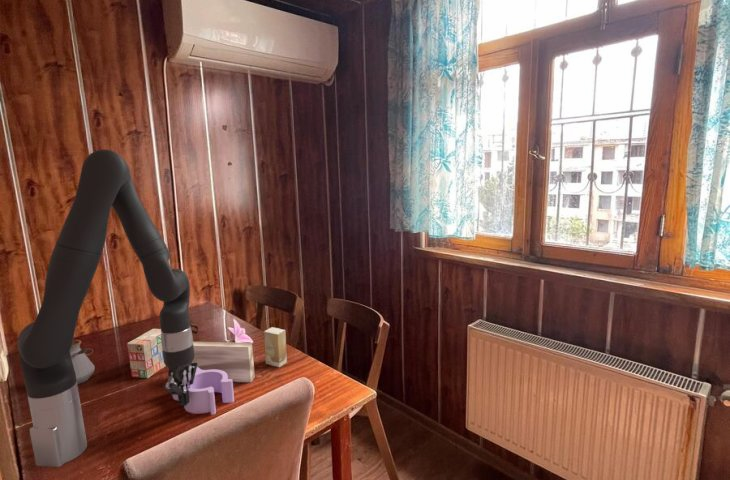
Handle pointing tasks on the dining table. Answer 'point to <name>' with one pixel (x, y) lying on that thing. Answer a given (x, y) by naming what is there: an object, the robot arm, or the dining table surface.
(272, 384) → the dining table surface
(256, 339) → the dining table surface
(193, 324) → the pottery mug
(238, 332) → the lily
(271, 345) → the skincare box
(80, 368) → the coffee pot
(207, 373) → the clip
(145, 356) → the stack of blocks
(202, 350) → the board
